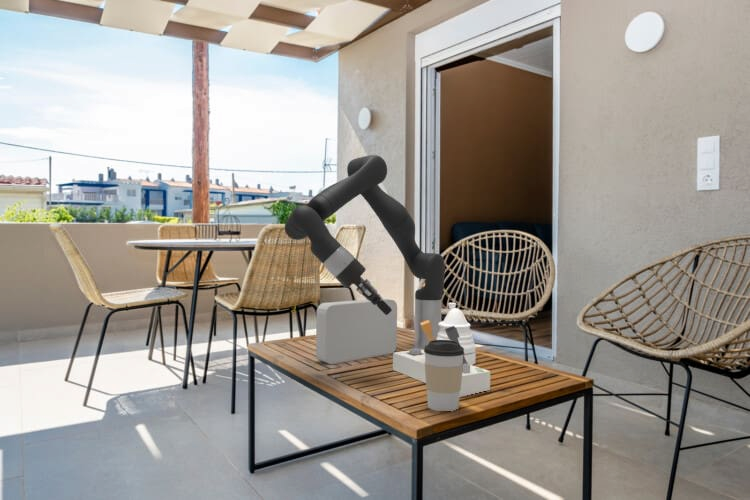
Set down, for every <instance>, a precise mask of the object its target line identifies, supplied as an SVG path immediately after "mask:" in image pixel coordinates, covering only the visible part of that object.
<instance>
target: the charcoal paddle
mask: <svg viewBox="0 0 750 500" xmlns="http://www.w3.org/2000/svg"><path fill="white" fill-rule="evenodd" d="M445 331H446V334H447V336H448V338H449V339H450V340H452V341H456V342H459V341H458V339H457V338H459V334H458V331H457V329H456V328H455V327H454V326H452V327H449V328H446V329H445ZM463 364H468V363H467V362H466V359H465V357H464V354H463Z"/></svg>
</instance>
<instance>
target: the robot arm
mask: <svg viewBox="0 0 750 500" xmlns="http://www.w3.org/2000/svg"><path fill="white" fill-rule="evenodd" d="M346 169H347V170H346V171H347V177H346V178H344V179H342V180H339V181H338V182H335V183H333V184H331V185H329V186H327V187H326V188H324V189H323V190H321V191H320V192H319V193H317V194H316V195H314V196H313V197H312V198H311V199H310V200H309V202H307V204H306V205H305V204H304V205H303V204H301V205H298V206H296V207H295V208H294V209H293V210H292V212H291V213H290V215H289V216H288V217H287V219H286V221H285V223H284V232H285V234H286V235H287V237H289V238H290V239H292V240H295V241H298V240H299V241H301V240H304V239H306V238H308V239H309V241H310V247H309V248H310V252H311V253H312V254H313V255H314V257H315V258H317V259H318V261H320V263H322V264H323V266H324V267H325V268H326V270H327V271H328V272H329V273H330V274H331V275H332V277H334V278H335V279H336V280H337V281H338V282H339V283H340V284H341V285H342V286H343V287H344V288H345V289H348V288H350V287H351V286H352V285H355V286H356V292H358V294H360V295H362V296H363V297H364V298H365V300H368V301H371V302H372V304H373V305H376V306H377V307H378V308H379V309H380V310H381V311H382V312H383V313H384V314H385V315H388V314H389V313H390V312H391V311H392V309H391V308H390V307H389V306H388V305H387V304H386V303H385V302H384V301H383V299H384V298H383V297H382V296H381V295H380V294H379V293H378V290H377V289H376V288H375V287H374V286H373V285H372V284H371V282H370V280H369V279H368V278H366V279H364V278H363V277H361V276H362V275H363V274H364V273H365V272H366V267H365V266H364V265H363V264H362V263H361V262H360V261H359V259H357V258H356V257H355V256H354V255H353V254H352V253H351V252H350V251H349V250H348V249H347V248H345V247H344V246H343V245H342V244H341V243H340V242H339V241H338V240H337V239H336V238H335V237H334V236H333V235H332V234H331V232H330V231H329V229H328V227H327V225H326V224H325V222H324V221H326V220H327V219H329V218H330V217H332V215H334V214H335V213H336V212H338V211H339V210H340V209H341V208H343V206H345V205H347V204H348V203H349V202H350V201H352V200H354V199H355V198H356V197H358V196H359V195H360V196H362V198H363V199H364V200H365V201H366V203H367V204H368V206H370V208H371V209H372V211H373V212H374V213H375V215H376V216H377V218H378V219H379V221H380V222H381V224H382V226H383V227H384V230H385V231H386V232H387V233H388V235H389V236H390V237H391V239H392V241H393V243H394V244H395V245H396V246H397V248H398V250H399V251H400V253H401V255H402V257H403V259H404V260H405V263H406V264H407V267H408V268H409V271H410V272H411V274H412V276H414V277H415V278H417V279H419V280H425V284H424V286H423V287H422V288H419V289H417V290H415V293H414V337H413V338H414V344H413V345H414V347H413V348H419V349H422V350H425V348H424V347H425V346H426V345H428V344H429V342H430V341H429V339H428V336H427V333H424V332H423V329H422V327H421V324H420V323H422V322H424V321H427V320H429V321H430V323H431V326H432V328H433V331H431V332H432V335H433V337H434V340H436V339H437V337H438V333H439V331H440V328H441V327H440V326H439V325H438V324H439V322H442V321H443V320H442V302H443V301H442V298H443V297H442V295H443V293H444V287H445V275H446V273H445V272H446V263H445V259H444V257H443V256H442V255H441V254H439V253H436V252H435V253H434V252H432V253H431V252H423V251H422V249H420V247H419V245H418V243H417V242H416V224H415V221H414V219H413V217H412V216H411V214H410V213H409V211H408V210H407V208H406V207H405V206H404V205H403V204H402V203H400V201H398V200H397V199H395V198H394V197H392V196H391V195H389V194H388V193H386V192H385V191H384V190H383V189H382V188H381V187H380V186H379V185H380V184H381V183H383V182H384V181H385V179H387V174H388V166H387V162H386V161H385V159H384V158H383V157H382V156H379V155H376V154H370V155H364V156H361V157H356V158H353V159H351V160H350V161H349V162H348V164H347V168H346ZM382 298H383V299H382Z"/></svg>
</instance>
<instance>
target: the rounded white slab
mask: <svg viewBox="0 0 750 500" xmlns="http://www.w3.org/2000/svg"><path fill="white" fill-rule="evenodd" d="M382 299H383V301H384V302H385V303H386V304H387V305H388V306H389V307H390V308H391V309H392V311H391V312H390V313H389V314H388V315H385V314H384V313H383V312H382V311H381V310H380V309H379V308H378V307H377V306H376V305H373V304H372V302H371V301H368V300H367V299H356V300H344V301H334V302H332V301H331V302H330V301H329V302H323V303H320V304H319V305H318V307H317V309H316V316H315V317H316V319H315V320H316V325H315V327H316V330H315V331H316V333H315V334H316V335H315V336H316V337H315V355H316V359H317V360H319V362H323V363H326V364H328V365H335V364H341V363H346V362H352V361H358V360H363V359H364V360H365V359H369V358H375V357H380V356H381V357H382V356H387V355H391V354H392V355H393V353H394V352H395V351H396V350H397V345H398V344H397V343H398V305H397V302H396V301H395V300H393V299H389V298H384V297H382Z"/></svg>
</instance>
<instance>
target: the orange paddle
mask: <svg viewBox="0 0 750 500" xmlns="http://www.w3.org/2000/svg"><path fill="white" fill-rule="evenodd" d="M420 324H421V327H422V329H423V332H424V333H427V336H428V339H429V341H433V340H434V337H433V335H432V332H431V331H433V328H432V326H431V323H430V321H429V320H427V321H424V322H422V323H420Z"/></svg>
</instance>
